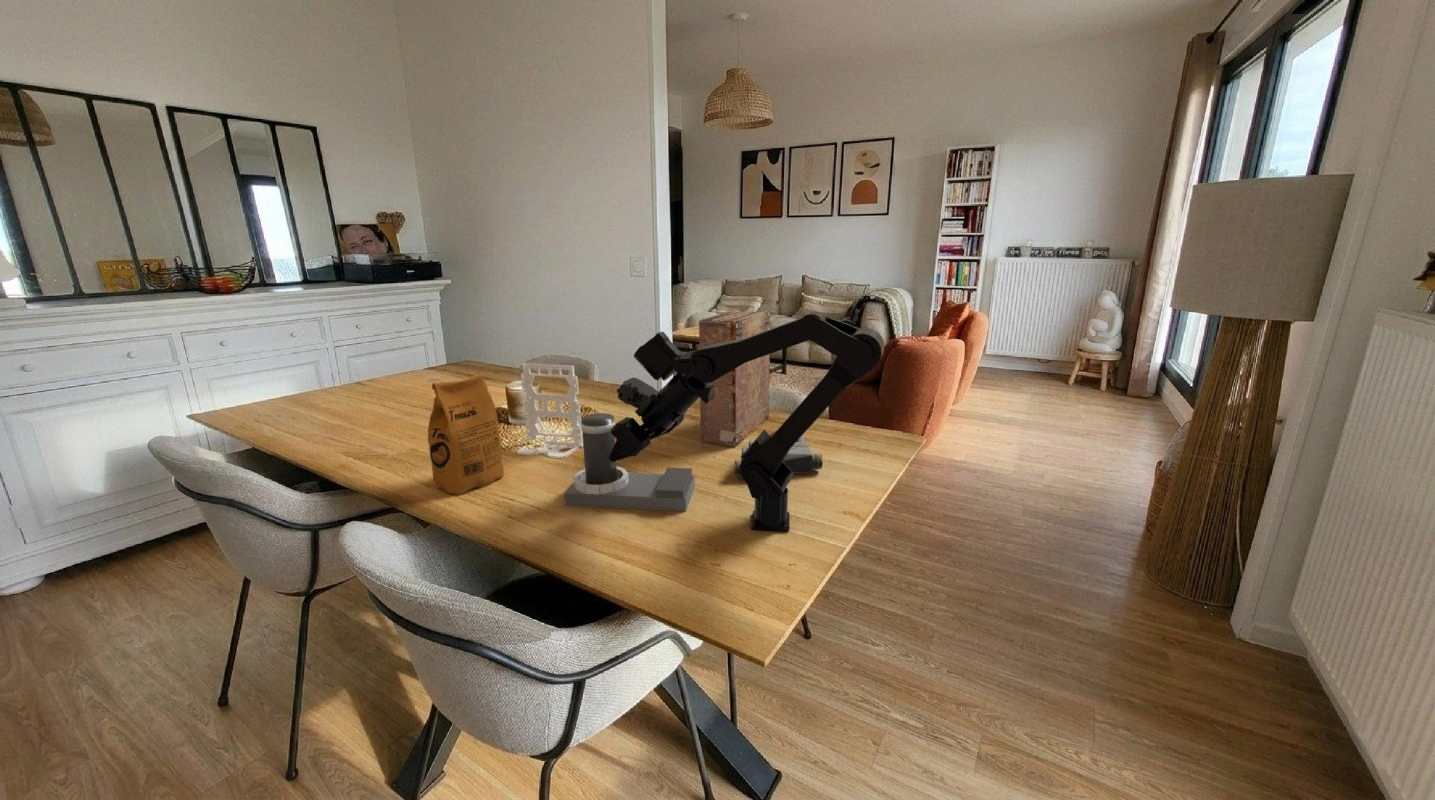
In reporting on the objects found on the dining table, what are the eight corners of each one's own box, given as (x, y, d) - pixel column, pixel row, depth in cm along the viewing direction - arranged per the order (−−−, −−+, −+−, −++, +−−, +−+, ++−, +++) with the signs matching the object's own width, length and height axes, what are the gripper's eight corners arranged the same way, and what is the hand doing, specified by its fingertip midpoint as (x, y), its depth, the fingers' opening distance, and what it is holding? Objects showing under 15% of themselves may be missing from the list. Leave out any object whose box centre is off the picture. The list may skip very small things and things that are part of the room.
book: (738, 414, 162) (738, 308, 153) (769, 418, 158) (771, 309, 150) (700, 442, 139) (698, 320, 131) (735, 447, 136) (735, 322, 127)
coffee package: (427, 487, 115) (411, 381, 109) (483, 467, 125) (470, 369, 119) (455, 499, 109) (439, 388, 103) (510, 477, 119) (499, 375, 113)
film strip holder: (510, 454, 132) (501, 370, 127) (541, 435, 145) (534, 358, 140) (567, 459, 129) (559, 373, 124) (593, 439, 142) (588, 361, 136)
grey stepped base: (686, 511, 104) (685, 491, 103) (565, 505, 106) (563, 485, 105) (694, 486, 114) (694, 468, 113) (584, 482, 117) (582, 464, 116)
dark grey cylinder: (617, 487, 108) (614, 422, 104) (584, 489, 107) (579, 423, 103) (617, 474, 114) (614, 412, 110) (586, 476, 113) (581, 414, 109)
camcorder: (830, 474, 120) (831, 451, 119) (736, 484, 115) (737, 460, 114) (801, 449, 135) (801, 428, 134) (717, 456, 131) (717, 435, 129)
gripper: (667, 355, 109) (620, 406, 115) (617, 377, 92) (565, 434, 99) (706, 398, 108) (656, 446, 115) (663, 427, 91) (608, 482, 98)
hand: (623, 451), depth 106 cm, fingers open, 9 cm apart
